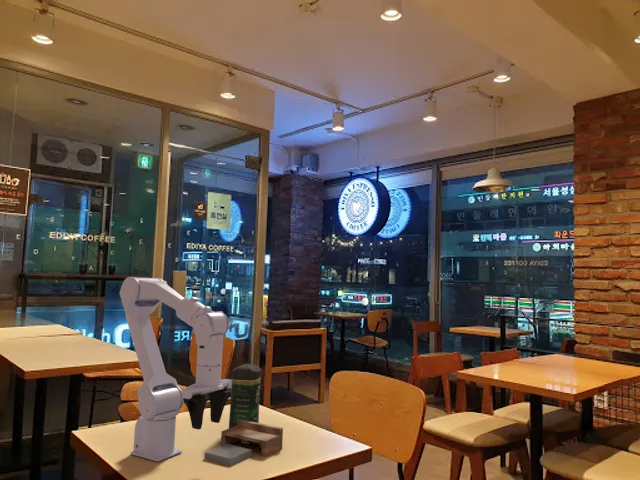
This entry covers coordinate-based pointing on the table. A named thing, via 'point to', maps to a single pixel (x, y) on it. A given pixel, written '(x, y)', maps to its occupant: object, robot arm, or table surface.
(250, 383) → the coffee jar
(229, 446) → the slate tile
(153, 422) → the robot arm
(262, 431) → the walnut shelf
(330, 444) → the table surface
